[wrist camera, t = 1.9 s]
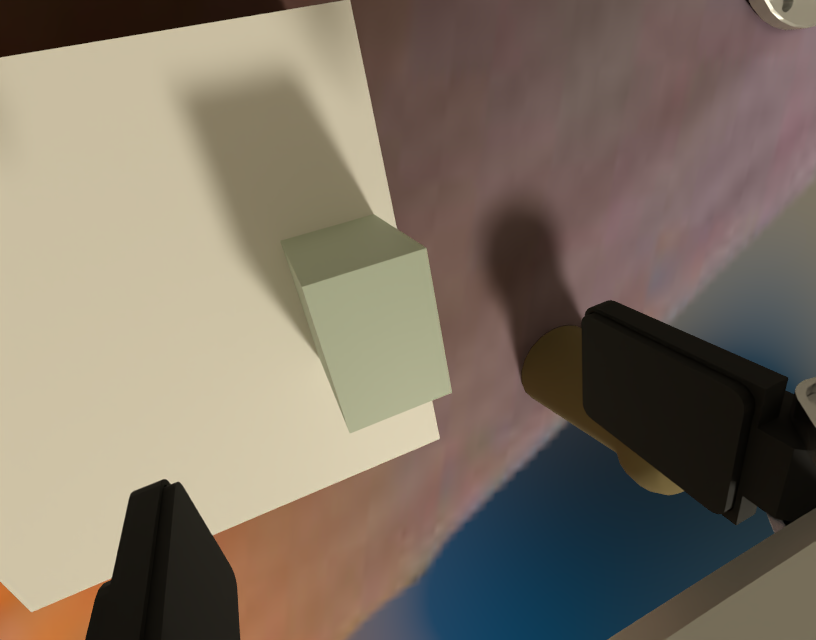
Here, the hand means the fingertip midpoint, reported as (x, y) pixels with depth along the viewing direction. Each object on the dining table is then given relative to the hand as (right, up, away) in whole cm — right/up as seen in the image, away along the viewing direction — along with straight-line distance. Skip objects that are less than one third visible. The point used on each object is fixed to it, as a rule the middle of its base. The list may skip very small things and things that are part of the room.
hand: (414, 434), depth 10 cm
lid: (-9, +2, +7) cm, 11 cm away
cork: (+10, -1, +22) cm, 25 cm away
